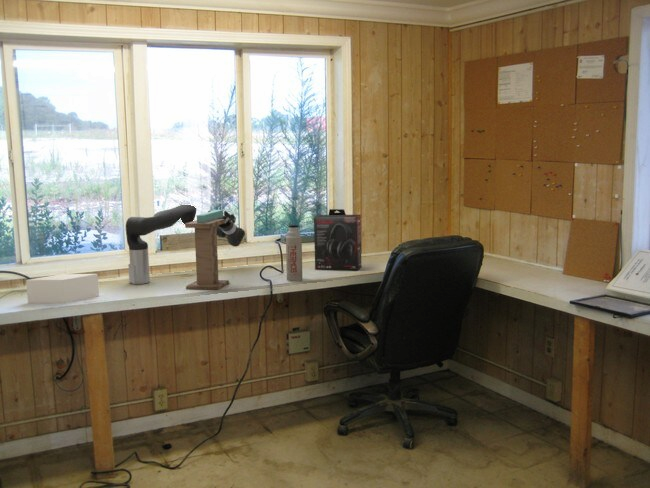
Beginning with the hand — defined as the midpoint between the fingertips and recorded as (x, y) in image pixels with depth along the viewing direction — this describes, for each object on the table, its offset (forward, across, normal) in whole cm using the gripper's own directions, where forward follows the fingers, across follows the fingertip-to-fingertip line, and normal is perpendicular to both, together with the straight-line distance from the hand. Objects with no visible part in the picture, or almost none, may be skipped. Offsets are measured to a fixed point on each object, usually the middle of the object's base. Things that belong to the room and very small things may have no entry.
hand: (216, 212), depth 331 cm
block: (+27, +54, -56) cm, 83 cm away
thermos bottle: (-22, -38, -28) cm, 52 cm away
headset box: (-52, -55, -10) cm, 76 cm away
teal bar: (+6, 0, -7) cm, 9 cm away
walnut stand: (-4, 0, -38) cm, 38 cm away
